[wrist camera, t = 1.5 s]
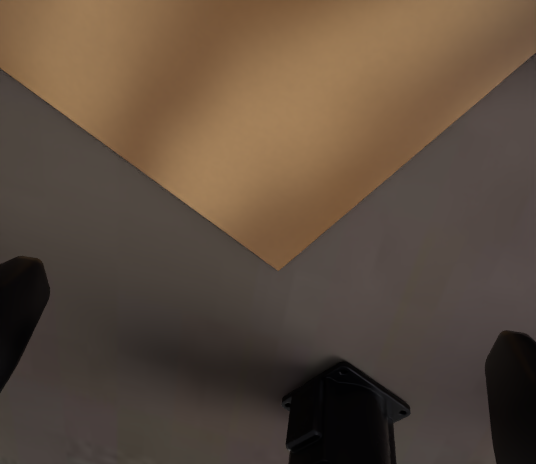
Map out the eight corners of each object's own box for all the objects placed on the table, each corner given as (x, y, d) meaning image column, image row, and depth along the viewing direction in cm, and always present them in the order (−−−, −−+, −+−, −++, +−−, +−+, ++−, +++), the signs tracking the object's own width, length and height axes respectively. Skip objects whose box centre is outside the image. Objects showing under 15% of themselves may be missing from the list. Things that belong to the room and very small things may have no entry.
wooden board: (650, -51, 16) (656, -50, 16) (279, 267, 26) (278, 271, 26) (236, -616, 11) (233, -632, 11) (-18, 49, 21) (-24, 51, 21)
